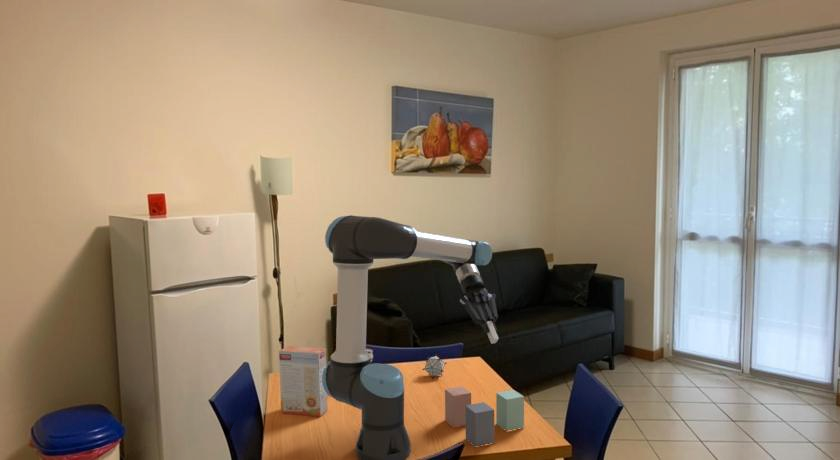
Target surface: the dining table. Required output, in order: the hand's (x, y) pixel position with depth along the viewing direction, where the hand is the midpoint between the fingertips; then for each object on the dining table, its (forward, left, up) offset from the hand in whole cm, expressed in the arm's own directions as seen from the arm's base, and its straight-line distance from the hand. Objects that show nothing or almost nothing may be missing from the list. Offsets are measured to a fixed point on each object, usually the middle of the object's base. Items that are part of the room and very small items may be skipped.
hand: (494, 341), depth 180 cm
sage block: (-7, -6, -24) cm, 26 cm away
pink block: (-8, +10, -24) cm, 27 cm away
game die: (+29, +28, -24) cm, 47 cm away
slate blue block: (-19, +1, -24) cm, 31 cm away
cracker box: (-14, +60, -24) cm, 66 cm away
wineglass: (+15, +51, -24) cm, 59 cm away
